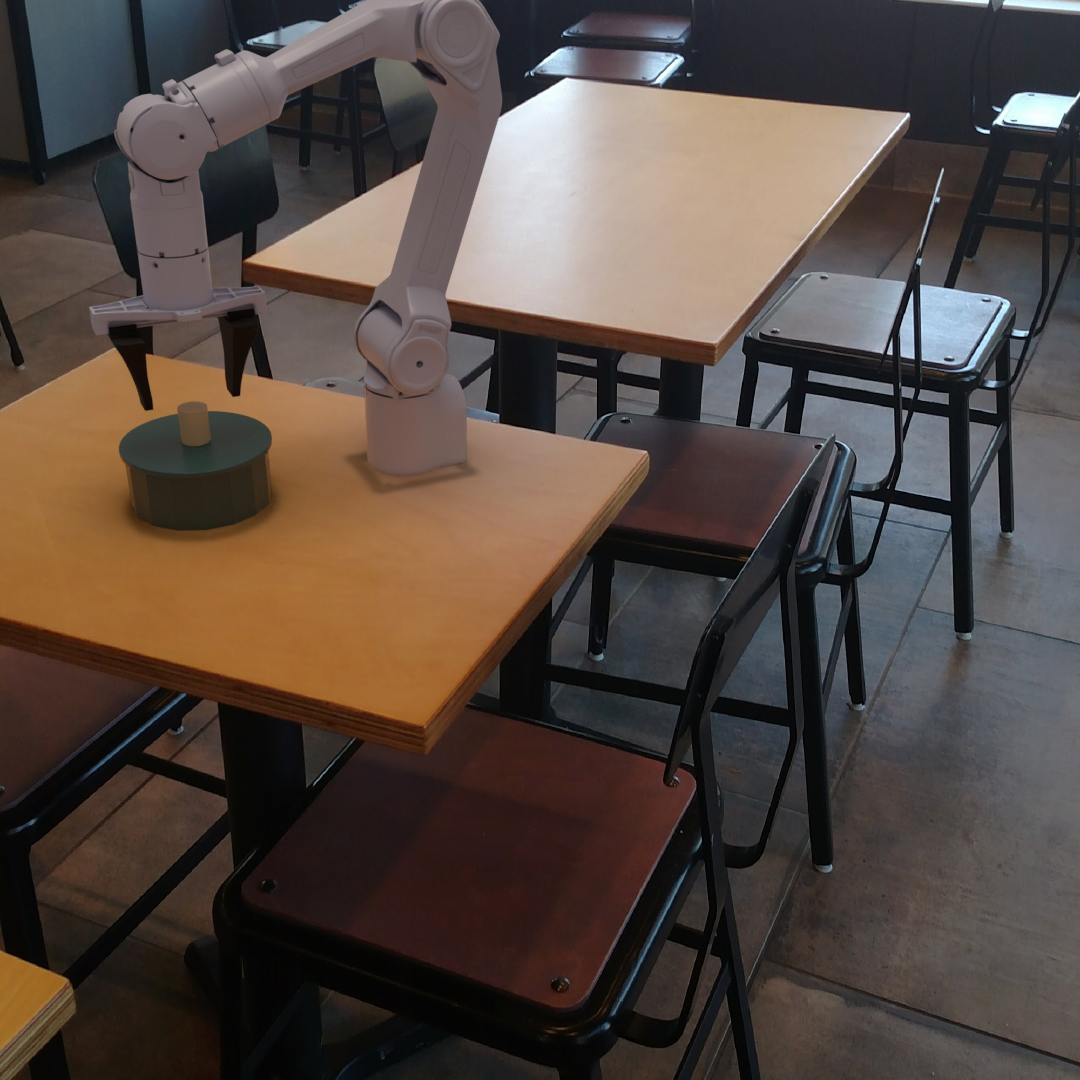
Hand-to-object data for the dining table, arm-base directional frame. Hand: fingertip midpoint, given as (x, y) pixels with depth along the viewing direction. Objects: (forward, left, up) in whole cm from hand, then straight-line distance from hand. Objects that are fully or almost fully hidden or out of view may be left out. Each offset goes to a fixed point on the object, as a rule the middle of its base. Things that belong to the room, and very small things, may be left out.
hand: (190, 399), depth 111 cm
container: (0, 0, -10) cm, 10 cm away
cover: (0, 0, -4) cm, 4 cm away
